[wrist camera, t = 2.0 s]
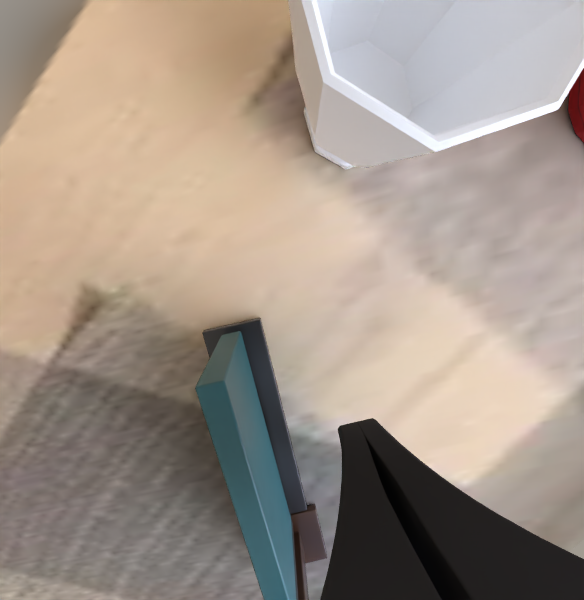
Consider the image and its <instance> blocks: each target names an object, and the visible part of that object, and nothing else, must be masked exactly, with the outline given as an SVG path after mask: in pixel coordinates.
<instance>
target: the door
mask: <svg viewBox="0 0 584 600" xmlns="http://www.w3.org/2000/svg"><path fill="white" fill-rule="evenodd" d="M195 389H196V392H197V395H198V398H199V401H200V404H201V407H202V411H203V414H204V417H205V420H206V423H207V426H208V429H209V432H210V435H211V438H212V441H213V444H214V447H215V451H216V454H217V457H218V460H219V463H220V466H221V469H222V472H223V475H224V478H225V481H226V484H227V487H228V491H229V494H230V497H231V500H232V503H233V506H234V509H235V512H236V515H237V518H238V521H239V524H240V528H241V531H242V534H243V537H244V540H245V543H246V546H247V549H248V552H249V555H250V558H251V561H252V564H253V568H254V571H255V574H256V577H257V580H258V583H259V586H260V589H261V592H262V595H263V598H264V600H296V586H295V571H294V556H293V541H292V526H291V516H290V513H289V509H288V505H287V501H286V498H285V494H284V490H283V487H282V483H281V479H280V475H279V472H278V468H277V464H276V460H275V457H274V453H273V449H272V446H271V442H270V438H269V434H268V431H267V427H266V423H265V419H264V416H263V412H262V408H261V405H260V401H259V397H258V393H257V390H256V386H255V382H254V378H253V375H252V371H251V367H250V364H249V360H248V356H247V352H246V349H245V345H244V341H243V337H242V334H241V332H240V331H238V332H233V333H229V334H224V335H222V336H221V337H220V339H219V341H218V343H217V345H216V347H215V349H214V351H213V353H212V355H211V357H210V359H209V361H208V363H207V365H206V367H205V369H204V371H203V373H202V375H201V377H200V379H199V381H198V383H197V385H196V388H195Z"/></svg>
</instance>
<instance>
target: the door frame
mask: <svg viewBox="0 0 584 600" xmlns="http://www.w3.org/2000/svg"><path fill="white" fill-rule="evenodd" d="M238 331H240V332H241V334H242V337H243V341H244V345H245V349H246V352H247V356H248V360H249V364H250V367H251V371H252V375H253V378H254V382H255V386H256V390H257V393H258V397H259V401H260V405H261V408H262V412H263V416H264V419H265V423H266V427H267V431H268V434H269V438H270V442H271V446H272V449H273V453H274V457H275V460H276V464H277V468H278V472H279V475H280V479H281V483H282V487H283V490H284V494H285V498H286V501H287V505H288V509H289V513H290V516H291V526H292V541H293V556H294V571H295V586H296V600H309V597H308V587H307V577H306V567H305V563H308V562H313V561H317V560H321V559H325V558H327V553H326V548H325V544H324V540H323V536H322V531H321V527H320V523H319V519H318V515H317V511H316V506H315V504H313V505H309V506H307V504H306V499H305V495H304V491H303V487H302V483H301V479H300V475H299V471H298V467H297V463H296V459H295V455H294V451H293V447H292V443H291V439H290V435H289V431H288V427H287V423H286V419H285V415H284V411H283V407H282V403H281V399H280V395H279V391H278V387H277V383H276V378H275V374H274V370H273V366H272V362H271V358H270V354H269V350H268V346H267V342H266V338H265V334H264V330H263V326H262V322H261V318H257V319H252V320H248V321H243V322H239V323H234V324H230V325H225V326H221V327H216V328H212V329H207V330H204V331H203V337H204V340H205V343H206V347H207V350H208V353H209V356H210V357H211V355H212V353H213V351H214V349H215V347H216V345H217V343H218V341H219V339H220V337H221V336H222V335H224V334H229V333H233V332H238Z"/></svg>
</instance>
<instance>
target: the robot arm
mask: <svg viewBox="0 0 584 600" xmlns="http://www.w3.org/2000/svg"><path fill="white" fill-rule="evenodd" d="M338 433H339V438H340V443H341V448H342V482H341V496H340V506H339V514H338V521H337V527H336V533H335V539H334V544H333V549H332V554H331V559H330V564H329V568H328V572H327V576H326V580H325V584H324V588H323V592H322V596H321V599H320V600H584V559H582V558H580V557H578V556H576V555H574V554H572V553H570V552H568V551H566V550H564V549H562V548H560V547H558V546H556V545H554V544H552V543H550V542H548V541H546V540H544V539H542V538H540V537H538V536H536V535H534V534H533V533H531V532H529V531H527V530H525V529H524V528H522V527H520V526H518V525H517V524H515V523H513V522H511V521H509V520H508V519H506V518H504V517H502V516H500V515H499V514H497V513H495V512H494V511H492V510H490V509H489V508H487V507H486V506H484V505H482V504H481V503H479V502H477V501H476V500H474V499H473V498H471V497H470V496H468V495H467V494H465V493H464V492H462V491H461V490H459V489H458V488H456V487H455V486H454V485H452V484H451V483H449V482H448V481H447V480H445V479H444V478H442V477H441V476H440V475H438V474H437V473H436V472H434V471H433V470H432V469H430V468H429V467H428V466H427V465H425V464H424V463H423V462H422V461H420V460H419V459H418V458H417V457H416V456H414V455H413V454H412V453H411V452H410V451H408V450H407V449H406V448H405V447H404V446H403V445H401V444H400V443H399V442H398V441H397V440H396V439H395V438H394V437H393V436H392V435H390V434H389V433H388V432H387V431H386V430H385V429H384V428H383V427H382V426H381V425H380V424H379V423H378V422H377V421H376V420H375V419H373V418H372V419H367V420H363V421H359V422H354V423H350V424H346V425H341V426H340V427H339V428H338Z"/></svg>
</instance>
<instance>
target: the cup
mask: <svg viewBox="0 0 584 600" xmlns="http://www.w3.org/2000/svg"><path fill="white" fill-rule="evenodd" d="M288 3H289V10H290V18H291V28H292V38H293V49H294V59H295V69H296V73H297V76H298V80H299V84H300V87H301V91H302V94H303V98H304V101H305V105H306V107H305V109H304V116H305V119H306V123H307V126H308V130H309V133H310V137H311V140H312V144H313V147H314V151H315V152H316V153H318V154H320V155H321V156H323V157H325V158H327V159H328V160H330V161H332V162H334V163H335V164H337V165H339V166H341V167H342V168H344V169H349V168H352V167H355V166H357V167H364V168H369V167H373V166H377V165H380V164H384V163H388V162H392V161H398V160H403V159H408V158H413V157H417V156H421V155H425V154H429V153H433V152H437V151H440V150H443V149H446V148H449V147H452V146H454V145H457V144H460V143H463V142H466V141H469V140H472V139H475V138H478V137H481V136H484V135H486V134H489V133H492V132H495V131H498V130H501V129H504V128H507V127H510V126H513V125H515V124H518V123H521V122H524V121H527V120H530V119H533V118H536V117H539V116H542V115H545V114H547V113H550V112H553V111H556V110H558V109H559V107H560V106H561V104H562V102H563V101H564V99H565V97H566V96H567V94H568V93H569V91H570V89H571V88H572V86H573V84H574V83H575V81H576V79H577V78H578V76H579V74H580V73H581V71H582V70H583V68H584V0H288Z"/></svg>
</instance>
